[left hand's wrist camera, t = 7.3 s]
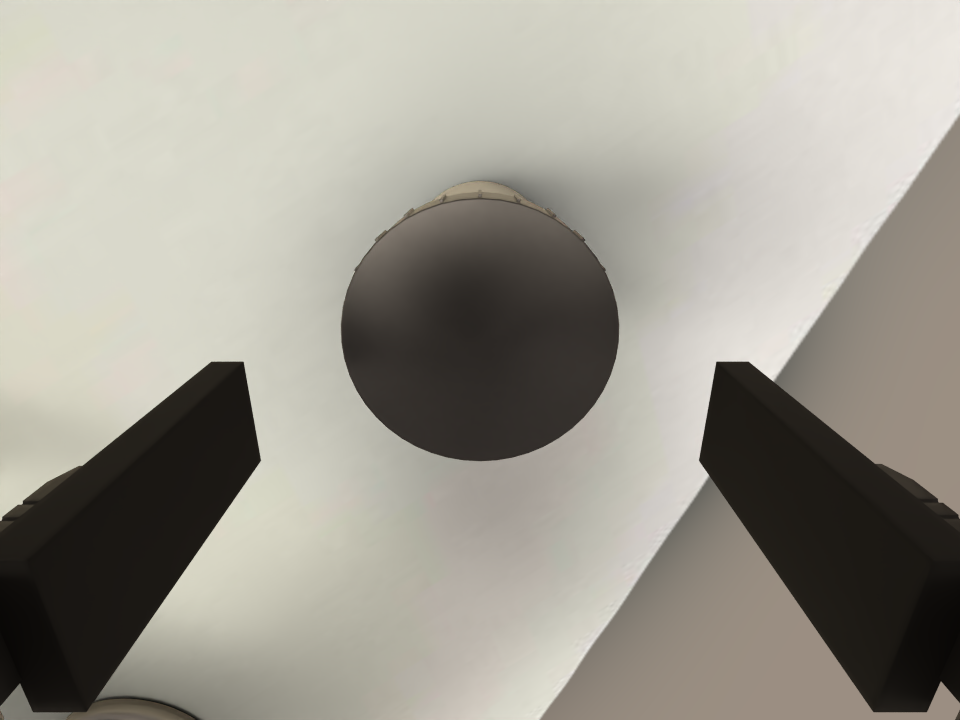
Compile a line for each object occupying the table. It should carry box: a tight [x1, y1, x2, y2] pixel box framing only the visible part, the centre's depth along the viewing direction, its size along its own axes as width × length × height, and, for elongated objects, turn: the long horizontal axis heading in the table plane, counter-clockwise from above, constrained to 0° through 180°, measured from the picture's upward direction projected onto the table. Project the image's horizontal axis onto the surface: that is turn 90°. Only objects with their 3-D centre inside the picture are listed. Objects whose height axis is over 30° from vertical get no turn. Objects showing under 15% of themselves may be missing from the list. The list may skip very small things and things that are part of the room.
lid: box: [341, 190, 619, 461], centre depth 19 cm, size 9×9×2 cm
